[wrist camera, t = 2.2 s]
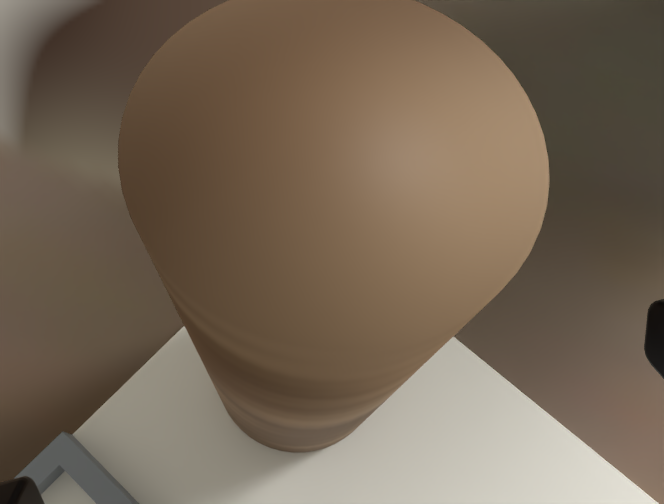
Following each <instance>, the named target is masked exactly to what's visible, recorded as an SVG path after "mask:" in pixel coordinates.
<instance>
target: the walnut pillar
mask: <svg viewBox="0 0 664 504" xmlns="http://www.w3.org/2000/svg"><path fill="white" fill-rule="evenodd" d="M118 168H119V174H120V180H121V186H122V192H123V195H124V198H125V201H126V205H127V208H128V211H129V214H130V217H131V219H132V221H133V223H134V225H135V227H136V229H137V231H138V233H139V235H140V237H141V239H142V241H143V243H144V245H145V247H146V249H147V251H148V253H149V255H150V257H151V259H152V261H153V263H154V265H155V267H156V269H157V271H158V273H159V276H160V278H161V280H162V282H163V284H164V286H165V288H166V290H167V292H168V294H169V296H170V298H171V300H172V302H173V304H174V306H175V308H176V310H177V312H178V314H179V316H180V318H181V320H182V322H183V324H184V326H185V328H186V330H187V332H188V334H189V336H190V338H191V340H192V342H193V344H194V346H195V348H196V350H197V352H198V354H199V356H200V358H201V360H202V362H203V364H204V366H205V368H206V370H207V372H208V374H209V376H210V378H211V380H212V382H213V384H214V387H215V389H216V391H217V393H218V395H219V397H220V399H221V401H222V403H223V405H224V407H225V409H226V410H227V412H228V414H229V416H230V417H231V418H232V420H233V421H234V423H235V424H236V425H237V426H238V427H239V428H240V429H241V430H242V431H243V432H244V433H245V434H247V435H248V436H249V437H250V438H252V439H254V440H255V441H257V442H258V443H260V444H262V445H265V446H267V447H269V448H272V449H276V450H279V451H285V452H292V453H304V452H311V451H317V450H320V449H324V448H327V447H329V446H331V445H334V444H336V443H338V442H339V441H341V440H342V439H344V438H346V437H347V436H348V435H349V434H351V433H352V432H353V431H354V430H355V429H356V428H357V427H358V426H360V425H361V424H362V423H363V422H364V421H365V420H366V419H367V418H368V417H369V416H370V415H371V414H372V413H373V412H374V411H375V410H376V409H377V408H378V407H380V406H381V405H382V404H383V403H384V402H385V401H386V400H387V399H388V398H389V397H390V396H391V395H392V394H393V393H394V392H395V391H396V390H397V389H398V388H400V387H401V386H402V385H403V384H404V383H405V382H406V381H407V380H408V379H409V378H410V377H411V376H412V375H413V374H414V373H415V372H416V371H417V370H418V369H420V368H421V367H422V366H423V365H424V364H425V363H426V362H427V361H428V360H429V359H430V358H431V357H432V356H433V355H434V354H435V353H436V352H437V351H438V350H440V349H441V348H442V347H443V346H444V345H445V344H446V343H447V342H448V341H449V340H450V339H451V338H452V337H453V336H454V335H455V334H456V333H457V332H458V331H460V330H461V329H462V328H463V327H464V326H465V325H466V324H467V323H468V322H469V321H470V320H471V319H472V318H473V317H474V316H475V315H476V314H477V313H478V312H480V311H481V310H482V309H483V308H484V307H485V306H486V305H487V304H488V303H489V302H490V301H491V300H492V299H493V298H494V297H495V296H496V295H497V294H498V293H499V292H500V291H501V290H502V289H503V288H504V287H505V286H506V285H507V284H508V282H509V281H510V280H511V279H512V278H513V277H514V276H515V275H516V274H517V272H518V270H519V269H520V267H521V266H522V264H523V263H524V261H525V260H526V258H527V257H528V255H529V254H530V252H531V250H532V248H533V245H534V243H535V241H536V239H537V237H538V234H539V232H540V230H541V226H542V223H543V219H544V215H545V212H546V208H547V201H548V192H549V183H550V182H549V160H548V154H547V149H546V144H545V139H544V135H543V132H542V129H541V126H540V123H539V120H538V117H537V114H536V112H535V110H534V108H533V106H532V104H531V102H530V100H529V98H528V96H527V94H526V92H525V91H524V89H523V88H522V86H521V85H520V83H519V82H518V80H517V79H516V77H515V76H514V74H513V73H512V72H511V71H510V70H509V68H508V67H507V66H506V65H505V64H504V63H503V61H502V60H501V59H500V58H499V57H498V56H497V55H496V54H495V53H494V52H493V51H492V50H491V49H490V48H489V47H488V46H487V45H486V44H485V43H484V42H483V41H481V40H480V39H479V38H478V37H476V36H475V35H474V34H472V33H471V32H470V31H468V30H467V29H466V28H465V27H463V26H462V25H460V24H459V23H457V22H455V21H454V20H452V19H450V18H449V17H447V16H445V15H444V14H442V13H440V12H438V11H436V10H434V9H432V8H430V7H428V6H426V5H424V4H422V3H420V2H417V1H414V0H228V1H226V2H224V3H222V4H220V5H218V6H215V7H213V8H211V9H209V10H207V11H206V12H204V13H203V14H201V15H200V16H198V17H197V18H195V19H193V20H192V21H190V22H188V23H187V24H186V25H185V26H183V27H182V28H181V29H180V30H179V31H178V32H176V33H175V34H174V35H172V36H171V37H170V38H169V39H168V40H167V41H166V42H165V44H163V46H162V47H161V48H160V49H159V50H158V51H157V52H156V53H155V54H154V55H153V57H152V58H151V60H150V61H149V63H148V64H147V65H146V67H145V68H144V69H143V71H142V72H141V74H140V76H139V78H138V80H137V81H136V84H135V86H134V87H133V89H132V91H131V93H130V95H129V99H128V102H127V105H126V108H125V111H124V114H123V117H122V122H121V128H120V134H119V141H118Z"/></svg>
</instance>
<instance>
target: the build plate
mask: <svg viewBox="0 0 664 504" xmlns="http://www.w3.org/2000/svg"><path fill="white" fill-rule="evenodd" d="M23 476H27V477H30V478H32V479H33V480H34V482H35V483H36V485H37V487H38V490H39V492H40V494H41V496H42V499H43V501H44V503H45V504H659V503H657V502H656V501H655V500H654V499H652V498H651V497H650V496H649V495H648V494H646V493H645V492H644V491H643V490H641V489H640V488H639V487H638V486H637V485H635V484H634V483H633V482H632V481H630V480H629V479H628V478H627V477H625V476H624V475H623V474H622V473H621V472H619V471H618V470H617V469H616V468H614V467H613V466H612V465H611V464H609V463H608V462H607V461H606V460H605V459H603V458H602V457H601V456H600V455H598V454H597V453H596V452H595V451H594V450H592V449H591V448H590V447H589V446H587V445H586V444H585V443H584V442H582V441H581V440H580V439H579V438H578V437H576V436H575V435H574V434H573V433H571V432H570V431H569V430H568V429H566V428H565V427H564V426H563V425H562V424H560V423H559V422H558V421H557V420H555V419H554V418H553V417H552V416H551V415H549V414H548V413H547V412H546V411H544V410H543V409H542V408H541V407H539V406H538V405H537V404H536V403H535V402H533V401H532V400H531V399H530V398H528V397H527V396H526V395H525V394H523V393H522V392H521V391H520V390H519V389H517V388H516V387H515V386H514V385H512V384H511V383H510V382H509V381H507V380H506V379H505V378H504V377H503V376H501V375H500V374H499V373H498V372H496V371H495V370H494V369H493V368H492V367H490V366H489V365H488V364H487V363H485V362H484V361H483V360H482V359H480V358H479V357H478V356H477V355H476V354H474V353H473V352H472V351H471V350H469V349H468V348H467V347H466V346H464V345H463V344H462V343H461V342H460V341H458V340H457V339H456V338H455V337H452V338H451V339H450V340H449V341H448V342H447V343H446V344H445V345H444V346H443V347H442V348H441V349H440V350H438V351H437V352H436V353H435V354H434V355H433V356H432V357H431V358H430V359H429V360H428V361H427V362H426V363H425V364H424V365H423V366H422V367H421V368H420V369H418V370H417V371H416V372H415V373H414V374H413V375H412V376H411V377H410V378H409V379H408V380H407V381H406V382H405V383H404V384H403V385H402V386H401V387H400V388H398V389H397V390H396V391H395V392H394V393H393V394H392V395H391V396H390V397H389V398H388V399H387V400H386V401H385V402H384V403H383V404H382V405H381V406H380V407H378V408H377V409H376V410H375V411H374V412H373V413H372V414H371V415H370V416H369V417H368V418H367V419H366V420H365V421H364V422H363V423H362V424H361V425H360V426H358V427H357V428H356V429H355V430H354V431H353V432H352V433H351V434H349V435H348V436H347V437H346V438H344V439H342V440H341V441H339V442H338V443H336V444H334V445H331V446H329V447H327V448H324V449H320V450H317V451H311V452H304V453H292V452H285V451H279V450H276V449H272V448H269V447H267V446H265V445H262V444H260V443H258V442H257V441H255V440H254V439H252V438H250V437H249V436H248V435H247V434H245V433H244V432H243V431H242V430H241V429H240V428H239V427H238V426H237V425H236V424H235V423H234V421H233V420H232V418H231V417H230V416H229V414H228V412H227V410H226V409H225V407H224V405H223V403H222V401H221V399H220V397H219V395H218V393H217V391H216V389H215V387H214V384H213V382H212V380H211V378H210V376H209V374H208V372H207V370H206V368H205V366H204V364H203V362H202V360H201V358H200V356H199V354H198V352H197V350H196V348H195V346H194V344H193V342H192V340H191V338H190V336H189V334H188V332H187V330H186V328H185V326H183V327H182V328H181V329H180V330H179V331H178V332H177V333H176V334H175V335H174V336H173V337H172V338H171V339H170V340H169V341H168V342H167V343H166V344H165V345H164V346H163V347H162V348H161V349H160V350H159V351H158V352H157V353H156V354H155V355H154V356H153V357H152V358H151V359H150V360H149V361H147V362H146V363H145V364H144V365H143V366H142V367H141V368H140V369H139V370H138V371H137V372H136V373H135V374H134V375H133V376H132V377H131V378H130V379H129V380H128V381H127V382H126V383H125V384H124V385H123V386H122V387H121V388H120V389H119V390H118V391H117V392H116V393H115V394H114V395H113V396H112V397H110V398H109V399H108V400H107V401H106V402H105V403H104V404H103V405H102V406H101V407H100V408H99V409H98V410H97V411H96V412H95V413H94V414H93V415H92V416H91V417H90V418H89V419H88V420H87V421H86V422H85V423H84V424H83V425H82V426H81V427H80V428H79V429H78V430H77V431H76V432H74V433H73V434H72V435H71V434H69V433H66V432H62V433H61V434H59V435H58V436H57V437H56V438H55V439H54V440H53V441H52V442H51V443H50V444H49V445H48V446H47V447H46V448H45V449H44V450H43V451H42V452H41V453H40V454H39V455H38V456H37V457H36V458H35V459H34V460H32V461H31V462H30V463H29V464H28V465H27V466H26V467H25V468H24V469H23V470H22V471H21V472H20V473H19V474H18V475H17V476H16V477H15V478H19V477H23ZM15 478H14V479H15Z"/></svg>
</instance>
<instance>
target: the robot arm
mask: <svg viewBox="0 0 664 504" xmlns="http://www.w3.org/2000/svg"><path fill="white" fill-rule="evenodd" d="M644 349H645V354H646V357H647V359H648V361H649V362H650V364H651V365H652V366H653V367H654V368H655V370H656V371H657V372H658V373H659V374H660V375H661V376H662V378H663V379H664V299H661V300H658V301H655V302H653V303H652V304H651V305H650V307H649V309H648V314H647V324H646V334H645V344H644ZM0 504H45V503H44V501H43V499H42V496H41V494H40V492H39V490H38V487H37V485H36V483H35V482H34V480H33V479H32V478H30V477H27V476H23V477H19V478H15V479H12V480H8V481H4V482H1V483H0Z"/></svg>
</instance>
